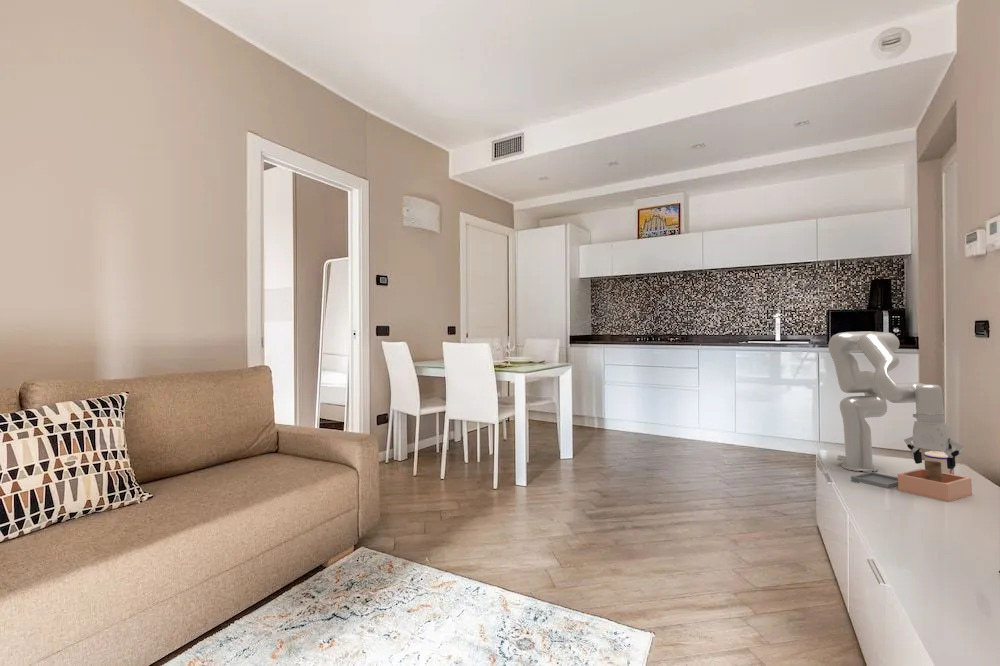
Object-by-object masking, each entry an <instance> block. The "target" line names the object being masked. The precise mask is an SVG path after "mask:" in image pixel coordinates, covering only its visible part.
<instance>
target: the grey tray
mask: <svg viewBox="0 0 1000 666" xmlns="http://www.w3.org/2000/svg"><path fill="white" fill-rule="evenodd" d="M850 481H851V482H852V481H853V483H856V482H857V484H860V483H863V484H867V485H871V486H875V487H879V488H884V489H891V488H895V487H898V476H893V475H890V474H889V475H888V474H883V473H878V472H875V471H874V472H864V473H859V474H855V475H851V476H850Z"/></svg>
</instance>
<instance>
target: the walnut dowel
mask: <svg viewBox="0 0 1000 666" xmlns="http://www.w3.org/2000/svg"><path fill="white" fill-rule="evenodd" d="M924 469H925V478H926V479H927V480H932V481H937V482H942V470H941V462H938V461H929V460H928V461H925V460H924Z"/></svg>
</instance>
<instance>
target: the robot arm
mask: <svg viewBox="0 0 1000 666" xmlns="http://www.w3.org/2000/svg"><path fill="white" fill-rule="evenodd" d="M899 348H900V340H899V338H898V337H897V335H895V334H894V333H892V332H883V331H871V330H870V331H862V330H861V331H845V332H838V333H836V334H833V335H832V336H831V337H830V338H829V341H828V352H829V354H830V358H831V359H832V361H833V364H834V367H835V373H836V376H837V382H838V386H839V388H840V391H841V392H843V393H846V394H864V395H853V396H852V395H850V396H846V397H845V398H844V397H843V398H842V400H840V403H839V411H840V413H841V418H842V424H843V434H844V436H843V437H844V438H843V439H844V451H845V455H841V454H838V455H837V458H836V460H837V461H840V462H841V461H842V462H843V463H841V467H842V468H843V469H845V470H847V471H848V470H849V471H852V470H853V472H859V471H863V472H864V473H868V472H872V471H874V472H877V471H878V469H879V468H878V467H877V466H876V465H874V463H873V461H874V460H873V445H872V431H871V427H870V424H869V423H868V422H867V420H866V418H867V419H869V418H880V417H883V416H885V415H886V414H887V412H888V405H887V401H888V402H890V403H893V404H907V403H909V404H910V403H913V404H914V403H915V410H916V412H915V413H913V414H912V417H913V418H915V419H916V420H914V421H913V429H912V436H911V437H908V438H904V439H903V440H904V443H905V445H906V446H907V448H908V449H909V450H910V451H911V452H912V453H913V461H914V463H915V464H916V465H917V464H922V463H923V458H922V452H921V450H925V451H939V452H944V453H945V454H946V455H947V456H948V457H947V468H948V469H953V468H954V469H955V467H956V465H957V464H956V457H957V456H958V455H960V454H962V452H963V450H964V448H965V447H964V445H962V444H960V443H958V442H956V441H954V440H952V436H951V431H950V429H949V428H950V427H949V425H948V423H947V422H945V412H944V411H945V410H944V399H943V398H944V397H943V389H942V387H941V386H940V385H939V384H928V383H926V384H925V383H921V382H898V383H897V382H894V381H893V380H892V378H891V376H890V375H889V372H890V371H892V370H894V369H895V368H897V367H898V366H899V363H900V359H899V357H898V355H896V353H894V352H896V351H897V350H898V349H899ZM858 351H861V352H862V353H863V354H864V356H865V357H866V358H867V360H868V361H869V362H870V363H871V364H872V366H873V367H874V369H875V370H874V372H873V371H871V370H870V371H868V370H864V371H863V370H862V371H861V370H860V368H859V363H858V361H857V359H856V357H855V356H854V355H852V353H851V352H858ZM886 400H887V401H886ZM953 447H955V450H953ZM863 472H862V473H863Z"/></svg>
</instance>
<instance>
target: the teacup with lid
mask: <svg viewBox="0 0 1000 666" xmlns="http://www.w3.org/2000/svg"><path fill="white" fill-rule="evenodd" d="M923 456H924V462H925V461H928V460H929V461H938V462H941V470H942V473H947V474H953V475H955V468H953V469H948V468H947V457H948V456H947V455H946V454H945V453H944V452H939V451H932V450H928V451H925V452H924V453H923Z"/></svg>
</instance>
